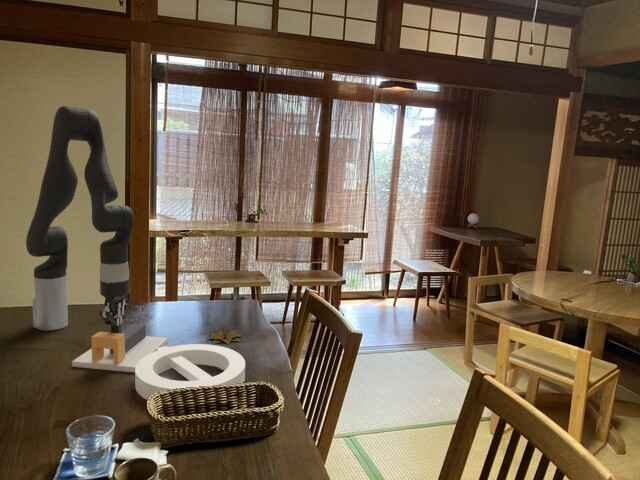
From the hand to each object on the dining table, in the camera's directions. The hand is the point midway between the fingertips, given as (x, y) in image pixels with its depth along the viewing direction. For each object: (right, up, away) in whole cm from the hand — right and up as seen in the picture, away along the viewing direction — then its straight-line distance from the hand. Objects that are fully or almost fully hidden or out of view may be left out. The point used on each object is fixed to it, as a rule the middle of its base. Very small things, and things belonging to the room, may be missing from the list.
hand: (115, 337), depth 138 cm
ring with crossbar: (+24, -10, -8) cm, 27 cm away
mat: (0, -6, +6) cm, 8 cm away
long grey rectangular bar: (0, -4, +8) cm, 9 cm away
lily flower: (+27, -5, +22) cm, 35 cm away
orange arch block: (-1, -6, -3) cm, 6 cm away
